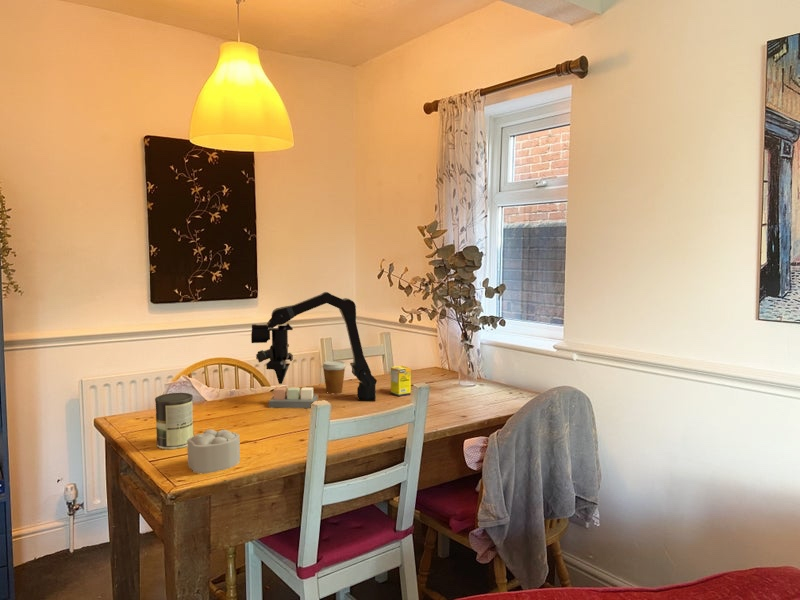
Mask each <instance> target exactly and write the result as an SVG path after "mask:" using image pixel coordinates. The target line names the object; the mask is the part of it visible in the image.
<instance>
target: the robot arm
mask: <svg viewBox="0 0 800 600" xmlns="http://www.w3.org/2000/svg"><path fill="white" fill-rule="evenodd" d="M325 304H328V305H330V306H333V307H335V308H337V309H338V310H339V312H340V314H341V315H340V316H341V317H342V319H343V321H344V323H345V327H346V331H347V335H348V341H349V343H350V344H349V345H350V348H351V349H350V350H351V353H352V357H353V358H352V359H353V360H352V362H349V365H350V367H351V374H353V376H354V377H355V378H357V380H358V381H359V383H358V386H357V391H356V393H357V394H356V395H357V396H356V397H357V400H358V401H359V402H363V401H366V402H368V401H369V402H375V401H376V399H377V395H376V384H377V381H378V380H377V379H376V378H375V377H374V376H373V374H372V372H371V369H370V367H369V365H368V362H367V360H366V358H365V356H364V351H363V347H362V343H361V338H360V334H359V331H358V326H357V320H356V319H357V305H356V303H355V302H354V301H353V300H352V299H350V298H347V297H346V298H340V297H338V296H335V295H334V294H332V293H330V292H327V291H324V292H322V293H320V294H318V295H315V296H313V297H310V298H307V299H305V300H303V301H302V300H301V301H299V302H298V303H295V304H291V305H285V306H279V307H277V308H274V309H273V310H272V312H271V318H270V319H269V320H268V321H267V323H266V324H256V323H254V324H251V336H250V337H251V338H250V339H251V341H250V342H251V344H262V343H264V344H266V343H268V341H270V340H271V345H270V346H269V349H266V350H263V349H261V350H259V351H257V353H256V354H255V357H256V360H258V363H262V362H263V361H267V360H269V361H268V362H266V366H265V367H266V368H265V369H266V370H273V371H274V372H275V375H276V378H277V382H278V384H279V385H282V384H283V383H284V382H283V381H284V380H285V377H286V374H287V372H288V369H289V367H290V366H291V365H290V364H291V363H288V362H287V360H289V361H290V362H292V361H293V359H294V356H293V353H292V352H289V347H290V344H289V342H288V341H289V338H288V337H289V336H288V333H289V332H288V331H293V327H292V326H291V325H290V324H289V322H290V321H291V320H293V318H295V317H296V316H298V315H301V314H303V313H305V312H308V311H311V310H313V309H315V308H317V307H321V306H323V305H325ZM284 324H285V325H284Z"/></svg>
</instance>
